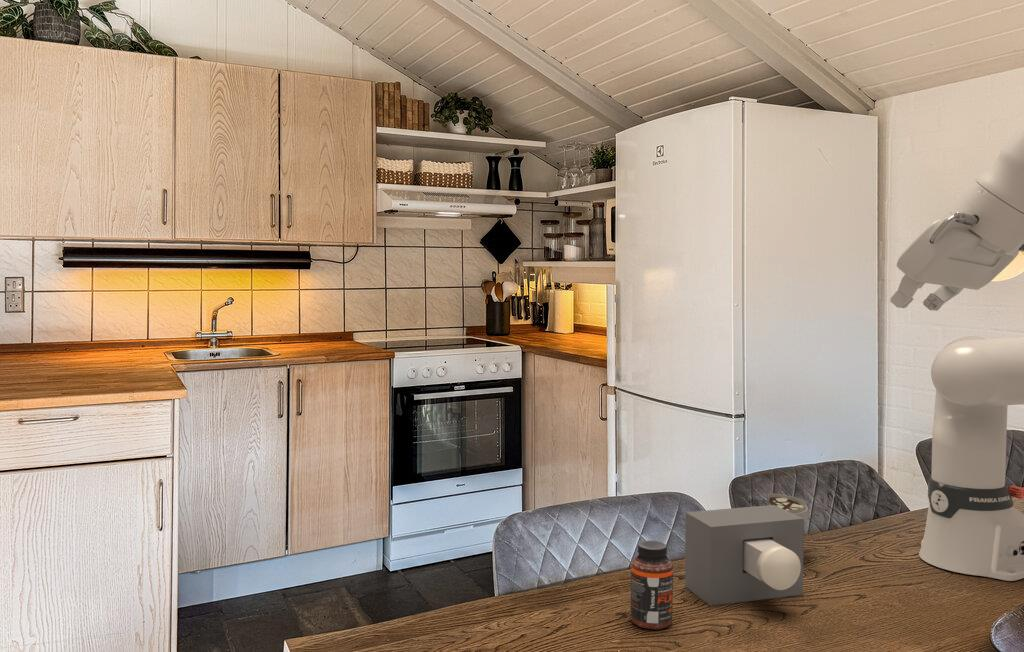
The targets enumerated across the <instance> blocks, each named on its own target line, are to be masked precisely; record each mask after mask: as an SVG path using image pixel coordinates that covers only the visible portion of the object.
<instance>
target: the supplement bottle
mask: <svg viewBox="0 0 1024 652" xmlns="http://www.w3.org/2000/svg"><path fill="white" fill-rule="evenodd" d="M637 544H638V545H637V553H638V554H637V555H636V556H634V558H633V559H632V560H631V562H630V563H631V565H630V568H631V569H630V620H631V622H632V623H633V624H635V625H636V626H637V627H640V628H641V629H642V628H643V629H647V630H653V631H654V630H663V629H666V628H668V627H670V626H671V624H672V622H673V613H674V612H673V611H674V610H673V604H674V603H673V600H674V599H673V598H674V597H673V596H674V594H673V593H674V591H673V590H674V564H673V562H672V561H671V559H669V558H668V556H667V554H668V552H667V551H668V550H667V544H665V543H664V542H663V541H658V540H643V541H639V543H637Z"/></svg>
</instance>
